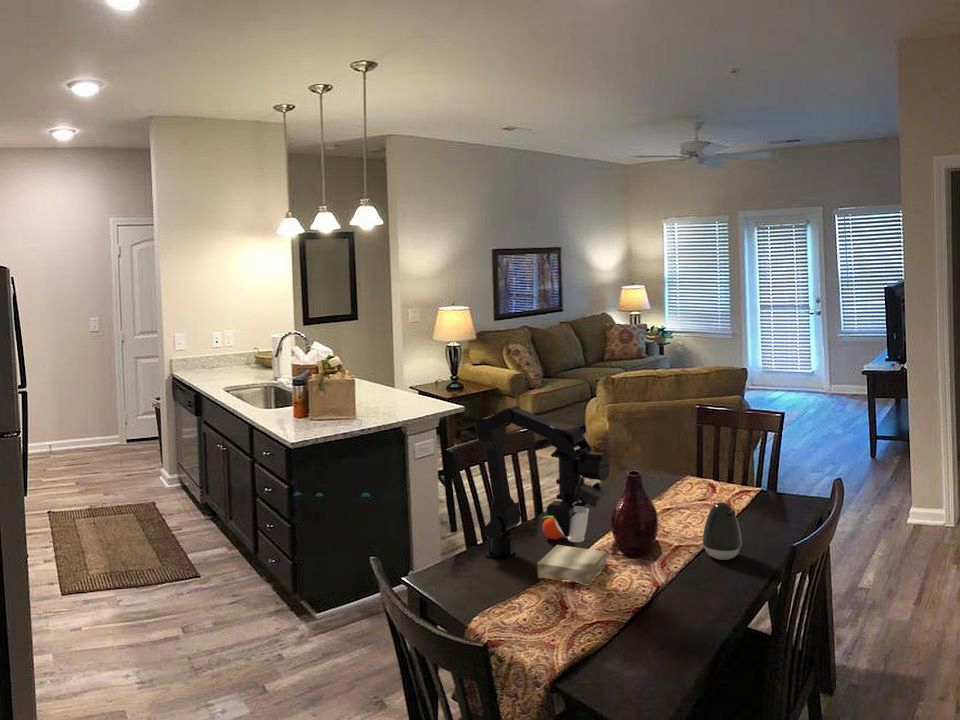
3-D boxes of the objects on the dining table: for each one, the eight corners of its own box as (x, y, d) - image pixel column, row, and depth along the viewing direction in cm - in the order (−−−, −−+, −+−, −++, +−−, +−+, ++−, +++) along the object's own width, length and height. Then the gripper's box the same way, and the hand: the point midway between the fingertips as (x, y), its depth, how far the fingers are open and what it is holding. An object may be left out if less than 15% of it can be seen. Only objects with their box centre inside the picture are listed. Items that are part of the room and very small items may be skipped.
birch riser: (537, 577, 207) (537, 563, 206) (557, 558, 219) (557, 544, 219) (588, 586, 201) (588, 571, 200) (606, 566, 213) (606, 551, 212)
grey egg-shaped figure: (717, 566, 210) (717, 511, 208) (695, 552, 220) (695, 499, 218) (750, 560, 213) (750, 505, 211) (726, 547, 223) (726, 495, 221)
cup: (579, 545, 203) (579, 515, 202) (548, 538, 210) (547, 508, 209) (594, 538, 208) (594, 508, 207) (563, 531, 215) (562, 502, 214)
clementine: (536, 541, 233) (535, 518, 232) (543, 533, 240) (542, 510, 239) (562, 544, 230) (561, 520, 229) (569, 536, 236) (568, 513, 236)
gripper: (587, 487, 194) (588, 549, 197) (610, 468, 211) (611, 525, 213) (545, 483, 200) (546, 542, 202) (571, 464, 216) (572, 520, 218)
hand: (571, 532), depth 208 cm, fingers closed on cup, 6 cm apart
